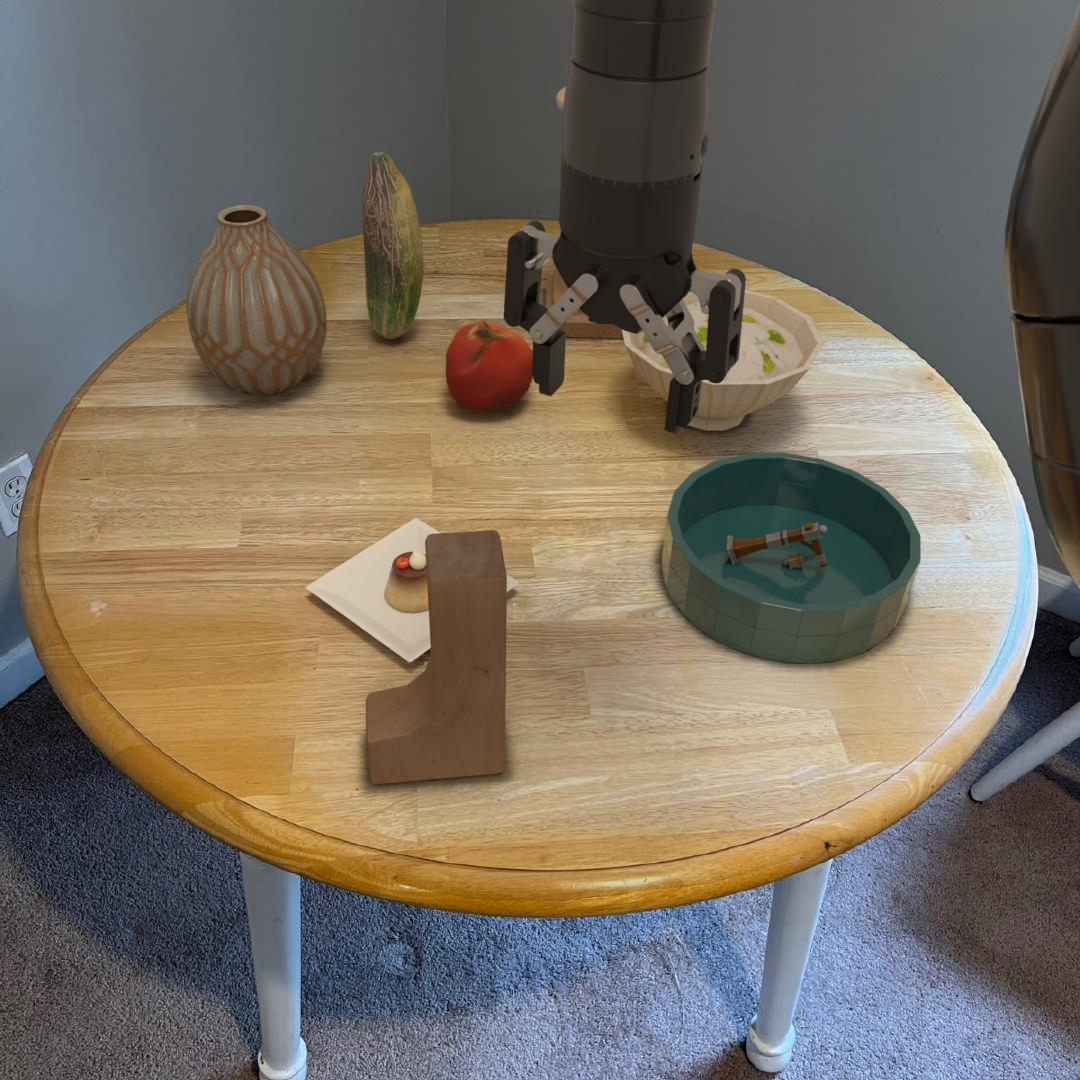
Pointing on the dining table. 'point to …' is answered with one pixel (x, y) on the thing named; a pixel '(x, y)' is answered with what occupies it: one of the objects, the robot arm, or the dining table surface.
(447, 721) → the wooden block
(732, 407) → the bowl
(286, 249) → the vase
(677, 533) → the teal bowl
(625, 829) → the dining table surface
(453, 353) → the tomato
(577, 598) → the dining table surface
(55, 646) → the dining table surface
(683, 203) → the robot arm
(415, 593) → the dessert
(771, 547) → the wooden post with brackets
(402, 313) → the vegetable
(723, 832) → the dining table surface
